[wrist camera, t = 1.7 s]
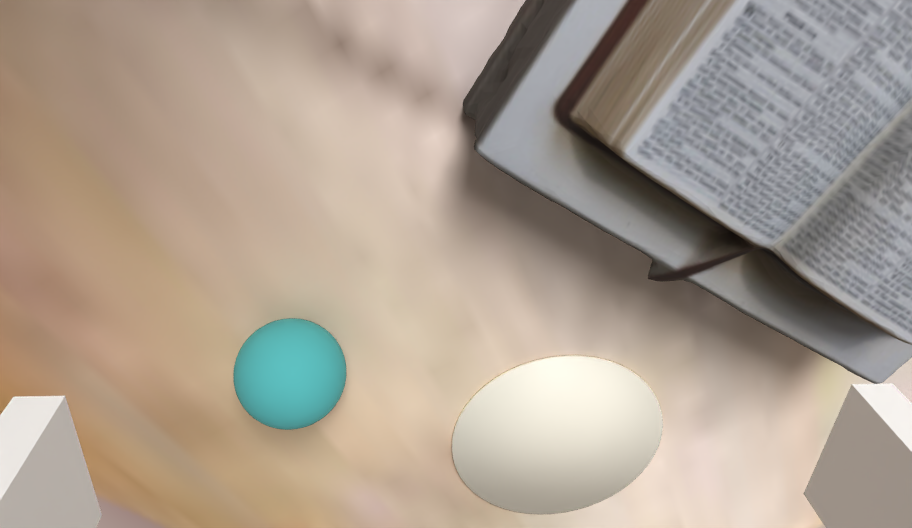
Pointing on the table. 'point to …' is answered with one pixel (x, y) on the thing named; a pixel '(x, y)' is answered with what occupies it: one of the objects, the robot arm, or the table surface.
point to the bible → (728, 151)
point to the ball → (289, 374)
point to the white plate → (557, 434)
